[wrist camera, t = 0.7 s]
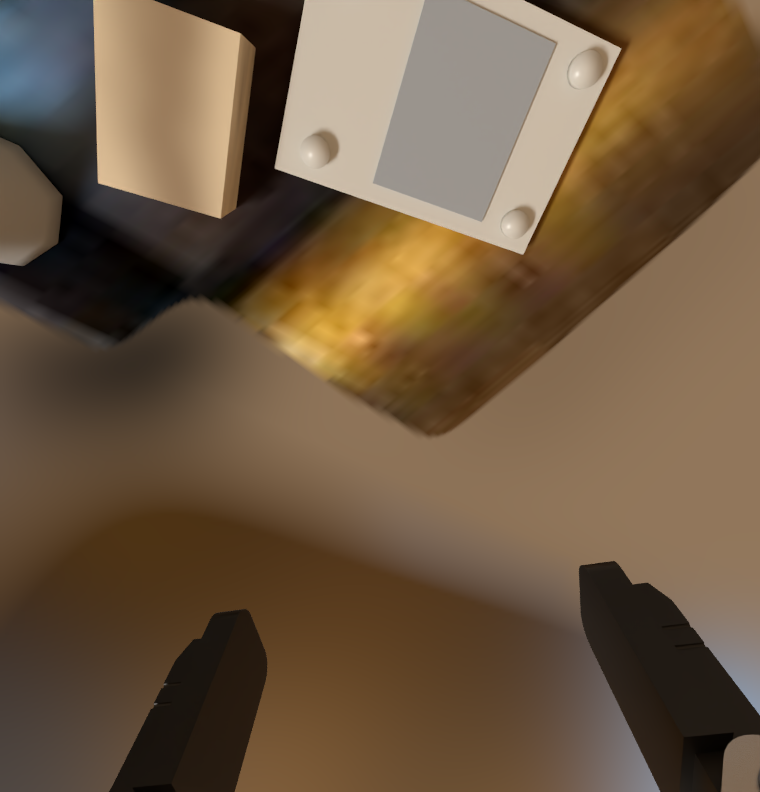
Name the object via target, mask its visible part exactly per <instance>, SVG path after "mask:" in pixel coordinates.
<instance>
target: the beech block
mask: <svg viewBox="0 0 760 792" xmlns="http://www.w3.org/2000/svg"><path fill="white" fill-rule="evenodd" d="M93 4H94V43H95V83H96V123H97V163H98V183H100V184H103V185H107V186H110V187H114V188H117V189H121V190H124V191H127V192H131V193H134V194H138V195H141V196H145V197H148V198H152V199H155V200H158V201H162V202H165V203H169V204H172V205H176V206H179V207H183V208H186V209H190V210H193V211H196V212H200V213H203V214H207V215H210V216H214V217H217V218H222V217H224V216H225V215H227V214H228V213H230V212H231V211H233V210H234V209H236V205H237V197H238V189H239V181H240V173H241V165H242V156H243V148H244V140H245V132H246V124H247V116H248V108H249V100H250V91H251V83H252V75H253V67H254V59H255V51H256V48H255V47H254V46H253V45H252V44H251V43H250V42H249V41H248V40H247V39H246V38H245V37H244V36H243V35H242V34H241V33H238V32H236V31H233V30H230V29H228V28H225V27H222V26H220V25H217V24H215V23H212V22H209V21H207V20H204V19H201V18H199V17H196V16H193V15H191V14H188V13H186V12H183V11H180V10H178V9H175V8H172V7H170V6H167V5H164V4H162V3H159V2H156V1H154V0H93Z"/></svg>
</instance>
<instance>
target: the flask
mask: <svg viewBox="0 0 760 792" xmlns="http://www.w3.org/2000/svg"><path fill="white" fill-rule="evenodd" d="M62 198H63V196H62V195H61V194H60V193H59V191H58V190H57V189H56V188H55V187H54V186H53V184H52V183H51V182H50V181H49V180H48V179H47V177H46V176H45V175H44V174H43V173H42V172H41V170H40V169H39V168H38V167H37V166H36V165H35V163H34V162H33V161H32V160H31V159H30V157H29V156H28V155H27V154H26V153H25V152H24V150H23V149H22V148H21V147H20V146H19V145H16V144H14V143H12V142H9V141H7V140H5V139H3V138H0V263H6V264H13V265H21V266H25V265H26V264H28V263H29V262H31V261H32V260H34V259H35V258H37V257H38V256H40V255H41V254H42V253H44V252H45V251H47V250H48V249H50V248H51V247H53V246H54V245H56V244H57V243H58V239H59V229H60V218H61V208H62Z"/></svg>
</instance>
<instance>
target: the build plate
mask: <svg viewBox="0 0 760 792" xmlns="http://www.w3.org/2000/svg"><path fill="white" fill-rule="evenodd" d="M620 51H621V48H619V47H617V46H615V45H613V44H611V43H609V42H607V41H605V40H603V39H601V38H599V37H597V36H595V35H593V34H591V33H589V32H587V31H585V30H583V29H581V28H579V27H577V26H575V25H573V24H571V23H569V22H567V21H565V20H563V19H561V18H559V17H557V16H555V15H552V14H550V13H548V12H546V11H544V10H542V9H540V8H538V7H536V6H534V5H532V4H530V3H528V2H526V1H524V0H305V2H304V8H303V13H302V19H301V24H300V30H299V35H298V41H297V46H296V52H295V58H294V63H293V69H292V74H291V80H290V85H289V91H288V96H287V102H286V107H285V113H284V119H283V124H282V130H281V135H280V141H279V146H278V152H277V157H276V163H275V169H277V170H280V171H283V172H286V173H289V174H292V175H295V176H298V177H301V178H303V179H306V180H309V181H312V182H315V183H318V184H321V185H324V186H327V187H329V188H332V189H335V190H338V191H341V192H344V193H347V194H350V195H352V196H355V197H358V198H361V199H364V200H367V201H370V202H373V203H376V204H378V205H381V206H384V207H387V208H390V209H393V210H396V211H399V212H402V213H404V214H407V215H410V216H413V217H416V218H419V219H422V220H425V221H428V222H430V223H433V224H436V225H439V226H442V227H445V228H448V229H451V230H453V231H456V232H459V233H462V234H465V235H468V236H471V237H474V238H477V239H479V240H482V241H485V242H488V243H491V244H494V245H497V246H500V247H503V248H505V249H508V250H511V251H514V252H517V253H520V254H524V252H525V249H526V247H527V245H528V243H529V241H530V239H531V237H532V235H533V233H534V231H535V229H536V226H537V224H538V222H539V220H540V218H541V216H542V214H543V212H544V210H545V208H546V206H547V203H548V201H549V199H550V197H551V195H552V193H553V191H554V189H555V187H556V185H557V183H558V180H559V178H560V176H561V174H562V172H563V170H564V168H565V166H566V164H567V162H568V160H569V157H570V155H571V153H572V151H573V149H574V147H575V145H576V143H577V141H578V139H579V137H580V134H581V132H582V130H583V128H584V126H585V124H586V122H587V120H588V118H589V116H590V114H591V111H592V109H593V107H594V105H595V103H596V101H597V99H598V97H599V95H600V93H601V91H602V88H603V86H604V84H605V82H606V80H607V78H608V76H609V74H610V72H611V70H612V68H613V65H614V63H615V61H616V59H617V57H618V55H619V53H620Z"/></svg>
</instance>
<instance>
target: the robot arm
mask: <svg viewBox="0 0 760 792" xmlns="http://www.w3.org/2000/svg"><path fill="white" fill-rule="evenodd" d="M579 583H580V606H581V618H582V623H583V627H584V631H585V634H586V637H587V639H588V642H589V644H590V646H591V648H592V651H593V653H594V655H595V657H596V659H597V661H598V663H599V665H600V667H601V669H602V671H603V673H604V675H605V677H606V680H607V682H608V684H609V686H610V688H611V690H612V692H613V694H614V696H615V698H616V700H617V702H618V704H619V706H620V708H621V711H622V712H623V715H624V717H625V719H626V721H627V723H628V725H629V727H630V729H631V731H632V733H633V736H634V738H635V740H636V742H637V744H638V746H639V748H640V750H641V752H642V754H643V756H644V758H645V760H646V763H647V764H648V767H649V769H650V771H651V773H652V775H653V777H654V779H655V781H656V783H657V785H658V787H659V790H660V792H760V715H759V714H758V713H757V711H756V710H755V708H754V707H753V706H752V705H751V703H750V702H749V701H748V699H747V698H746V697H745V695H744V694H743V693H742V691H741V690H740V689H739V688H738V686H737V685H736V684H735V682H734V681H733V680H732V678H731V677H730V676H729V675H728V673H727V672H726V670H725V669H724V668H723V667H722V665H721V664H720V663H719V661H718V660H717V659H716V657H715V656H714V655H713V653H712V652H711V651H710V650H709V648H708V647H705V645H704V642H703V640H702V639H701V638H700V636H699V635H698V634H697V633H696V631H695V630H694V629H693V628H691V627H690V625H689V622H688V621H687V619H686V618H685V617H684V616H683V614H682V613H681V612H680V610H679V609H678V608H677V606H676V605H675V604H674V602H673V601H672V600H671V599H669V598H668V597H667V596H665V595H664V594H662V593H661V592H660V591H658V590H657V589H656V588H654V587H653V586H651V585H650V584H649V583H641V584H634V585H632V583H631V582H630V580H629V579H628V577H627V576H626V575H625V573H624V571H623V570H622V569H621V567H620V566H619V565H618V564H617V563H616V562H615V561H611V562H604V563H596V564H589V565H581V566H580V568H579ZM266 676H267V657H266V652H265V649H264V647H263V644H262V642H261V639H260V637H259V634H258V632H257V629H256V627H255V624H254V622H253V619H252V617H251V614H250V612H249V611H248V610H246V609H242V610H235V611H228V612H220V613H216V614H214V615H213V616H212V618H211V619H210V621H209V623H208V626H207V628H206V630H205V632H204V634H203V636H202V638H201V639H194V640H193V641H192V642H191V643H190V644H189V646H188V647H187V648H186V649H185V650H184V651H183V653H182V654H181V655H180V656H179V657H178V658H177V659H176V661H175V663H174V665H173V666H172V668H171V671H170V672H169V675H168V677H167V679H166V680H165V682H164V688H162V689H161V690H160V692H159V694H158V696H157V699H156V700H155V702H154V708H153V709H151V710H150V712H149V714H148V716H147V718H146V720H145V722H144V724H143V726H142V728H141V730H140V732H139V734H138V736H137V738H136V740H135V742H134V744H133V746H132V748H131V750H130V752H129V754H128V756H127V758H126V760H125V762H124V764H123V766H122V768H121V770H120V772H119V774H118V776H117V778H116V780H115V782H114V784H113V786H112V788H111V789H110V791H109V792H235V788H236V785H237V781H238V777H239V774H240V771H241V767H242V763H243V760H244V756H245V752H246V749H247V745H248V742H249V738H250V734H251V731H252V728H253V724H254V720H255V717H256V713H257V710H258V706H259V702H260V699H261V695H262V691H263V688H264V685H265V681H266Z"/></svg>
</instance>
